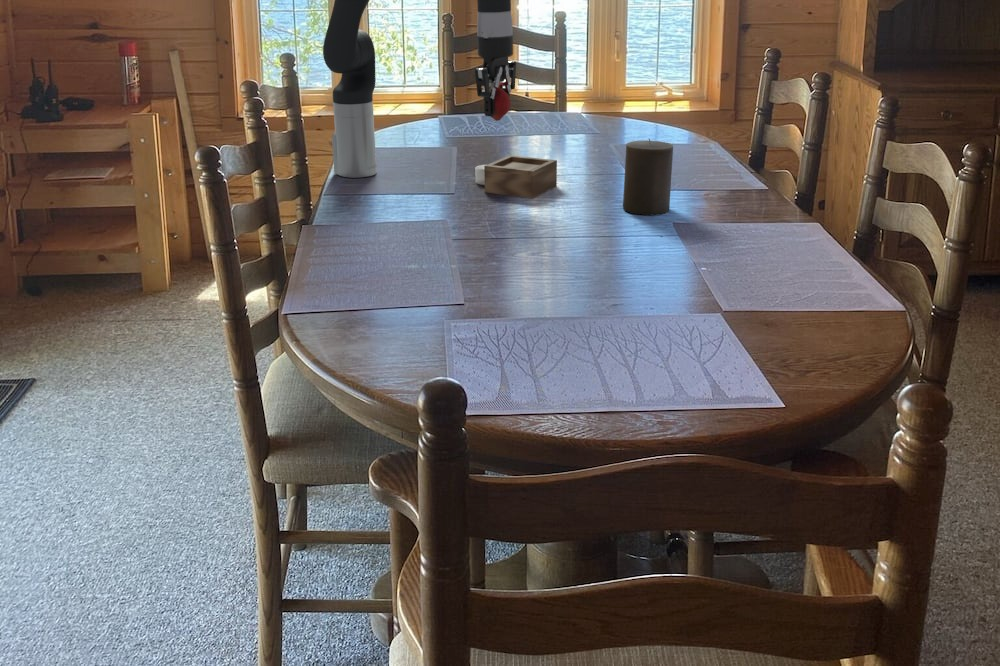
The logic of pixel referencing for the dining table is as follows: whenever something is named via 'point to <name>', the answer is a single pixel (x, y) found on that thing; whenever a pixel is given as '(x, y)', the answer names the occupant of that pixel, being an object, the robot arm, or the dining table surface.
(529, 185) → the brown open square tray
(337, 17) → the robot arm
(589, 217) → the dining table surface
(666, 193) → the pillar candle
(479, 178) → the white rounded pebble
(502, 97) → the onion
